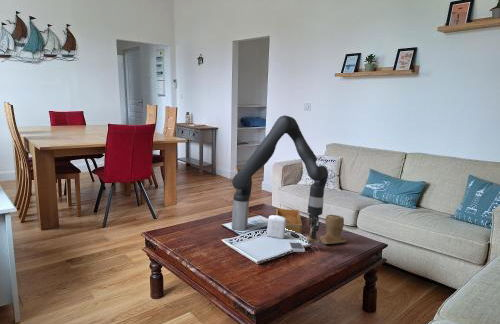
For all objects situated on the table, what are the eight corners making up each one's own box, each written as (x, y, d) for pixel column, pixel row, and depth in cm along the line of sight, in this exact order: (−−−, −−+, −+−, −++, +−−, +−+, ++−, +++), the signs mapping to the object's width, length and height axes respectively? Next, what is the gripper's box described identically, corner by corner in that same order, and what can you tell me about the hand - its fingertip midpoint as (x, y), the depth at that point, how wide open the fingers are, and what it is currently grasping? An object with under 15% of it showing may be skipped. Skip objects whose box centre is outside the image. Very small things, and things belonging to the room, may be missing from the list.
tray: (275, 215, 233) (276, 207, 232) (298, 217, 232) (298, 209, 231) (275, 232, 203) (276, 222, 202) (301, 234, 202) (302, 225, 201)
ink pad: (290, 251, 176) (291, 248, 176) (288, 245, 184) (288, 242, 183) (304, 252, 176) (304, 248, 176) (301, 245, 184) (301, 242, 184)
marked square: (305, 252, 176) (305, 251, 176) (301, 245, 184) (301, 245, 184) (320, 252, 177) (320, 252, 177) (316, 246, 185) (316, 245, 185)
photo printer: (285, 237, 195) (287, 216, 193) (283, 239, 191) (285, 218, 189) (267, 233, 198) (269, 213, 196) (265, 236, 194) (267, 215, 192)
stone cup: (335, 236, 202) (338, 211, 199) (349, 244, 191) (352, 218, 189) (314, 238, 196) (316, 213, 193) (326, 247, 185) (329, 220, 182)
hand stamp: (308, 243, 178) (309, 229, 176) (306, 240, 182) (307, 226, 181) (318, 244, 178) (319, 230, 177) (315, 240, 183) (316, 226, 182)
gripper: (305, 200, 183) (302, 231, 186) (311, 208, 170) (308, 241, 172) (319, 201, 184) (316, 231, 187) (326, 208, 170) (323, 242, 173)
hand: (312, 236), depth 180 cm, fingers closed on hand stamp, 3 cm apart
